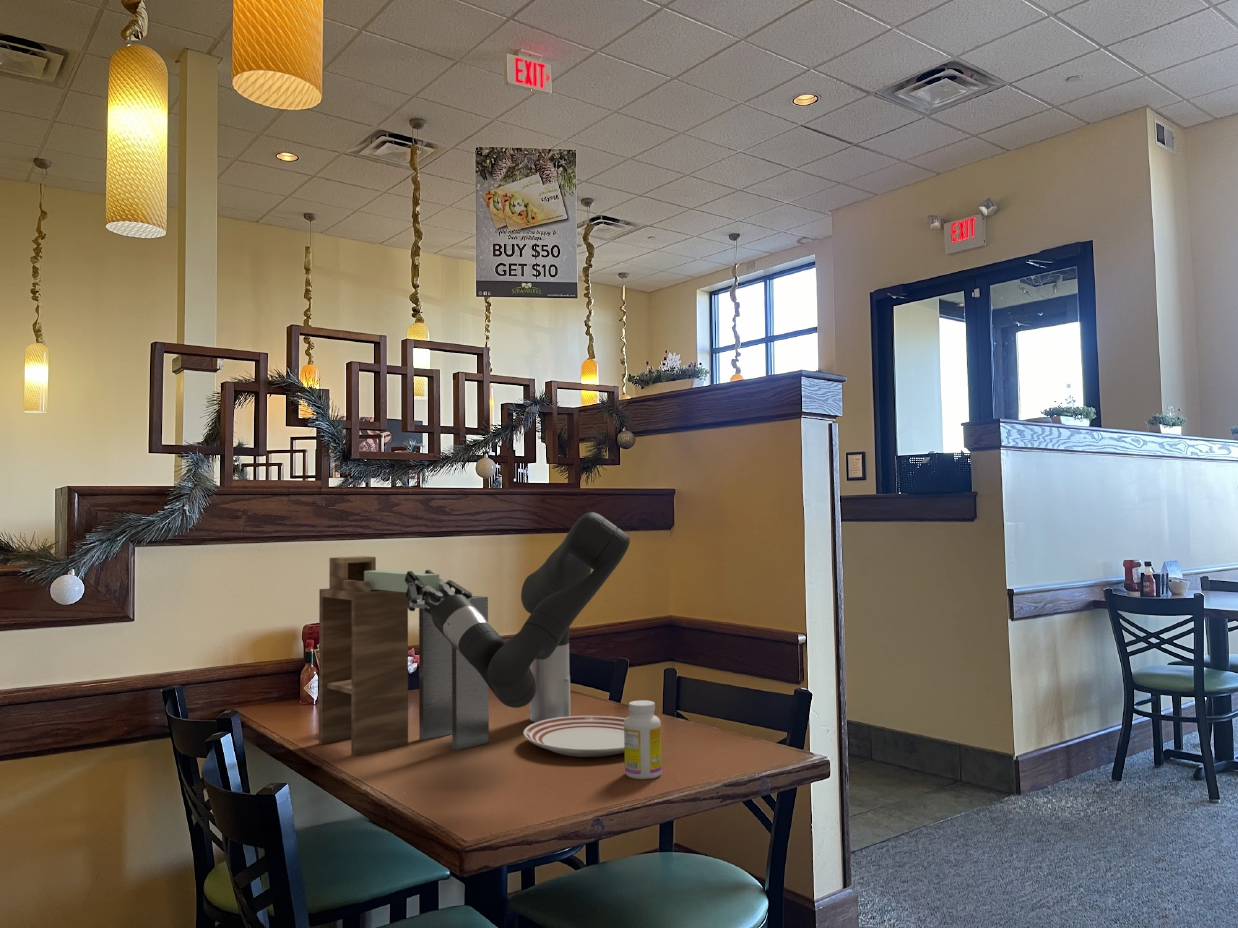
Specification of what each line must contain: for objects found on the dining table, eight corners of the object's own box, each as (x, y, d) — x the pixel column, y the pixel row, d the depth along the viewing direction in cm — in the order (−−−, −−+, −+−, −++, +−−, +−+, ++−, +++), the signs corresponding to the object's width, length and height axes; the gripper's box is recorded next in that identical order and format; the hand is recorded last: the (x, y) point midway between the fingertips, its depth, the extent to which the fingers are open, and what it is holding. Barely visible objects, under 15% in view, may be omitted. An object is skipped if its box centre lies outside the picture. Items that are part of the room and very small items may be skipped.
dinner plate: (670, 733, 194) (670, 717, 194) (639, 768, 167) (639, 750, 167) (550, 726, 201) (550, 711, 201) (502, 759, 175) (501, 742, 175)
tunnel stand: (408, 744, 186) (407, 557, 188) (355, 756, 178) (355, 560, 180) (370, 732, 197) (370, 555, 199) (318, 743, 188) (319, 558, 190)
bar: (439, 592, 172) (439, 574, 173) (423, 594, 170) (423, 575, 170) (379, 586, 188) (379, 570, 188) (364, 588, 185) (364, 571, 185)
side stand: (488, 742, 187) (487, 596, 188) (456, 750, 181) (456, 599, 183) (450, 732, 196) (450, 593, 198) (419, 739, 190) (419, 596, 192)
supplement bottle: (660, 769, 166) (659, 698, 166) (663, 779, 159) (662, 706, 160) (623, 770, 165) (622, 699, 166) (625, 780, 159) (624, 706, 159)
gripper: (499, 603, 168) (452, 556, 179) (435, 610, 158) (389, 559, 169) (487, 637, 170) (442, 588, 181) (423, 646, 160) (379, 593, 171)
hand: (417, 574), depth 175 cm, fingers closed on bar, 3 cm apart
